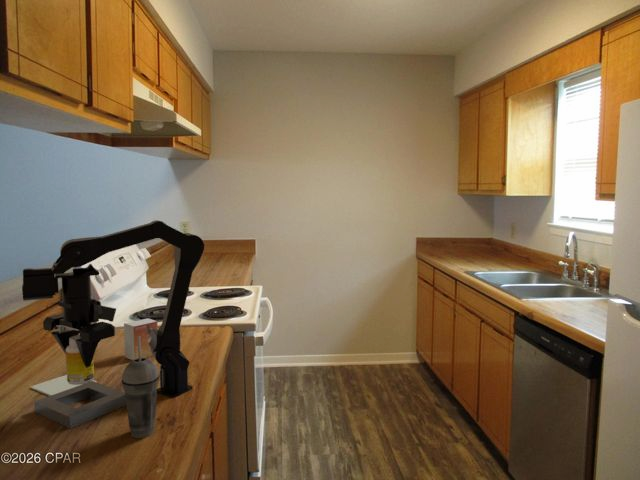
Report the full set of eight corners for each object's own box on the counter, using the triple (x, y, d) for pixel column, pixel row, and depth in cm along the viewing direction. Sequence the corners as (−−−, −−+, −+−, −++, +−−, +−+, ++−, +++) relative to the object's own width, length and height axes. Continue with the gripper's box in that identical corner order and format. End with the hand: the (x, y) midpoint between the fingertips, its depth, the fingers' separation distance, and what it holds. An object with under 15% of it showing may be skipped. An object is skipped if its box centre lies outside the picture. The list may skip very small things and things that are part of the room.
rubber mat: (97, 382, 125) (97, 381, 125) (54, 398, 116) (54, 396, 116) (72, 374, 131) (72, 372, 131) (30, 388, 122) (30, 386, 122)
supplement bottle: (89, 385, 108) (87, 340, 107) (63, 386, 107) (60, 341, 106) (98, 375, 113) (96, 333, 112) (73, 376, 113) (70, 333, 111)
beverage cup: (124, 444, 95) (120, 345, 93) (122, 428, 101) (119, 335, 99) (162, 437, 98) (159, 340, 96) (159, 421, 104) (156, 331, 102)
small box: (134, 361, 141) (132, 326, 140) (124, 357, 144) (123, 323, 143) (158, 354, 147) (157, 320, 146) (149, 350, 150) (147, 317, 149)
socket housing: (128, 403, 113) (128, 393, 113) (70, 428, 101) (70, 417, 101) (92, 390, 120) (92, 380, 120) (34, 412, 109) (34, 401, 108)
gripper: (134, 294, 110) (137, 361, 112) (86, 285, 120) (88, 346, 121) (88, 303, 101) (92, 376, 102) (40, 293, 110) (44, 360, 112)
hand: (80, 363), depth 110 cm, fingers closed on supplement bottle, 5 cm apart
